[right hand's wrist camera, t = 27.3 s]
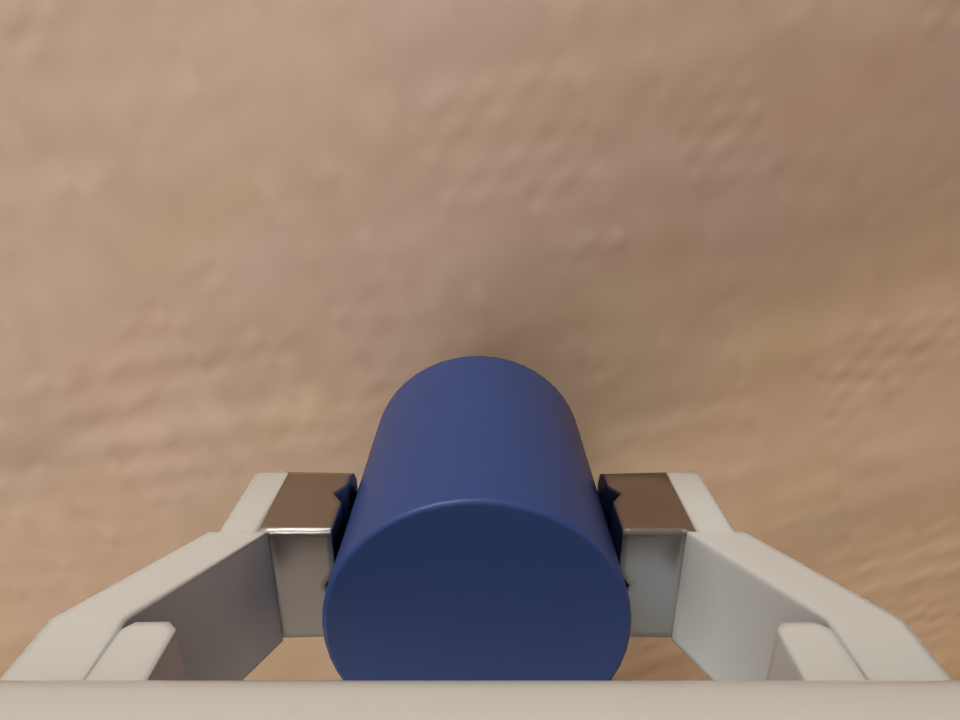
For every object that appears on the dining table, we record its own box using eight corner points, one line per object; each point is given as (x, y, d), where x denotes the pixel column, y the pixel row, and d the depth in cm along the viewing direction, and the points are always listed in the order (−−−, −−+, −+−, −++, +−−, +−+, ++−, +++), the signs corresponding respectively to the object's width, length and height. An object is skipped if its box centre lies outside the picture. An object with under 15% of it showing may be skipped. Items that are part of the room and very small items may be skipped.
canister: (582, 524, 13) (633, 732, 9) (392, 540, 13) (349, 752, 9) (574, 345, 11) (631, 486, 7) (361, 364, 12) (292, 514, 7)
